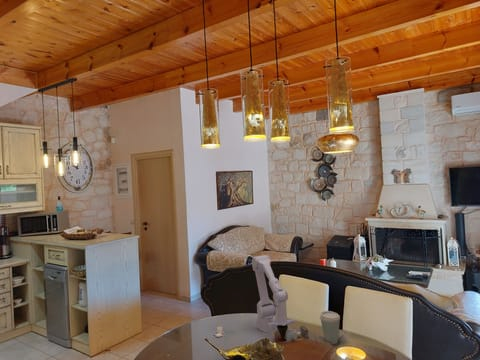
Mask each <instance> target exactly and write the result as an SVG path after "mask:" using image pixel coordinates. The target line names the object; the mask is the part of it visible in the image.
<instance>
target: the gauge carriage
mask: <svg viewBox="0 0 480 360" xmlns="http://www.w3.org/2000/svg"><path fill="white" fill-rule="evenodd" d="M298 336H302V335H301V332H300V331H297V330H296V329H295V328H291V329H287V331H286V333H285V338H284V340H286V341H290V340H293V341H292V342H295V340H296V339H298Z"/></svg>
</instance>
